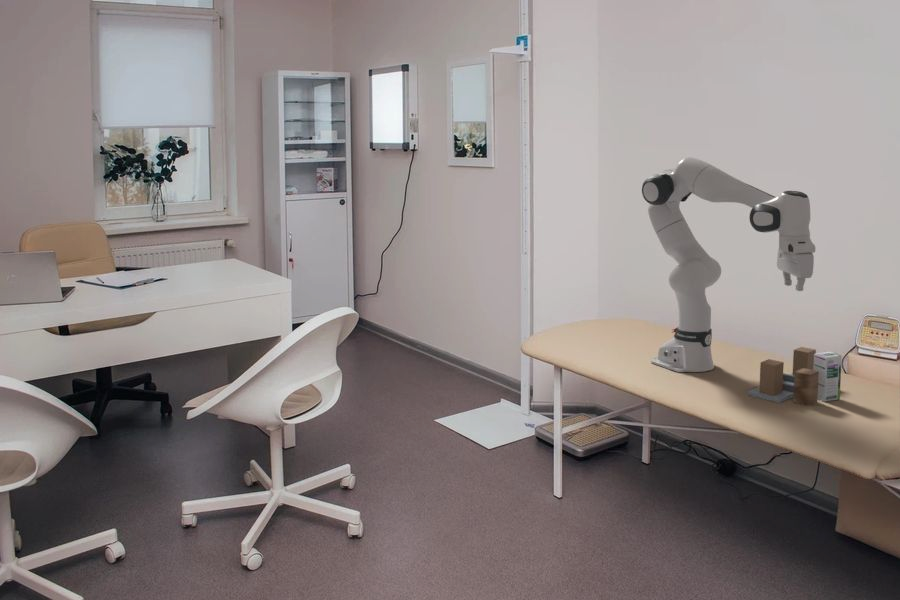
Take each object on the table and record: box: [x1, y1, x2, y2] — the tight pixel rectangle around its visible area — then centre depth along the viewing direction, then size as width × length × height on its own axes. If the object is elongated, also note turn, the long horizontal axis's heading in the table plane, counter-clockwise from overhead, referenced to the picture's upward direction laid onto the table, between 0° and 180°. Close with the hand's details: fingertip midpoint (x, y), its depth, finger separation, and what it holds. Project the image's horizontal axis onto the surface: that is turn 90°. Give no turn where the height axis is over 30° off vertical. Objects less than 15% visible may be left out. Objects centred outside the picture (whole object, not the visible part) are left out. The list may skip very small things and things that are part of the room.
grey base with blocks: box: [747, 346, 817, 404], centre depth 270 cm, size 11×28×11 cm, turn 129°
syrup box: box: [814, 351, 843, 403], centre depth 259 cm, size 6×6×14 cm
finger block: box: [793, 368, 819, 406], centre depth 257 cm, size 5×5×10 cm
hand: (793, 288), depth 259 cm, fingers open, 8 cm apart
